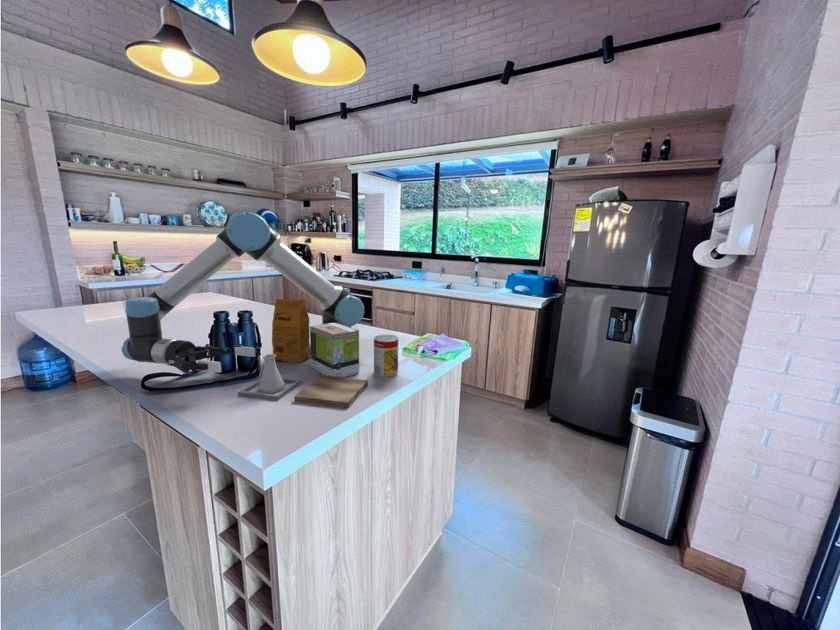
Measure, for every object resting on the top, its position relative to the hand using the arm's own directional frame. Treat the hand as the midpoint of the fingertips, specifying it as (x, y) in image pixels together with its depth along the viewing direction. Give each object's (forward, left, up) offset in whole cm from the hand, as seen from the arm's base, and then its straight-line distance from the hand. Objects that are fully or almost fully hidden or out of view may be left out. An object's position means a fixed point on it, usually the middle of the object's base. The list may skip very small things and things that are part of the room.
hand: (238, 359), depth 94 cm
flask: (0, +10, -8) cm, 13 cm away
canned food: (-20, +38, -8) cm, 44 cm away
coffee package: (-25, +1, -8) cm, 26 cm away
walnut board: (-2, +28, -8) cm, 29 cm away
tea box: (-18, +21, -8) cm, 29 cm away
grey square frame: (0, +10, -8) cm, 13 cm away
